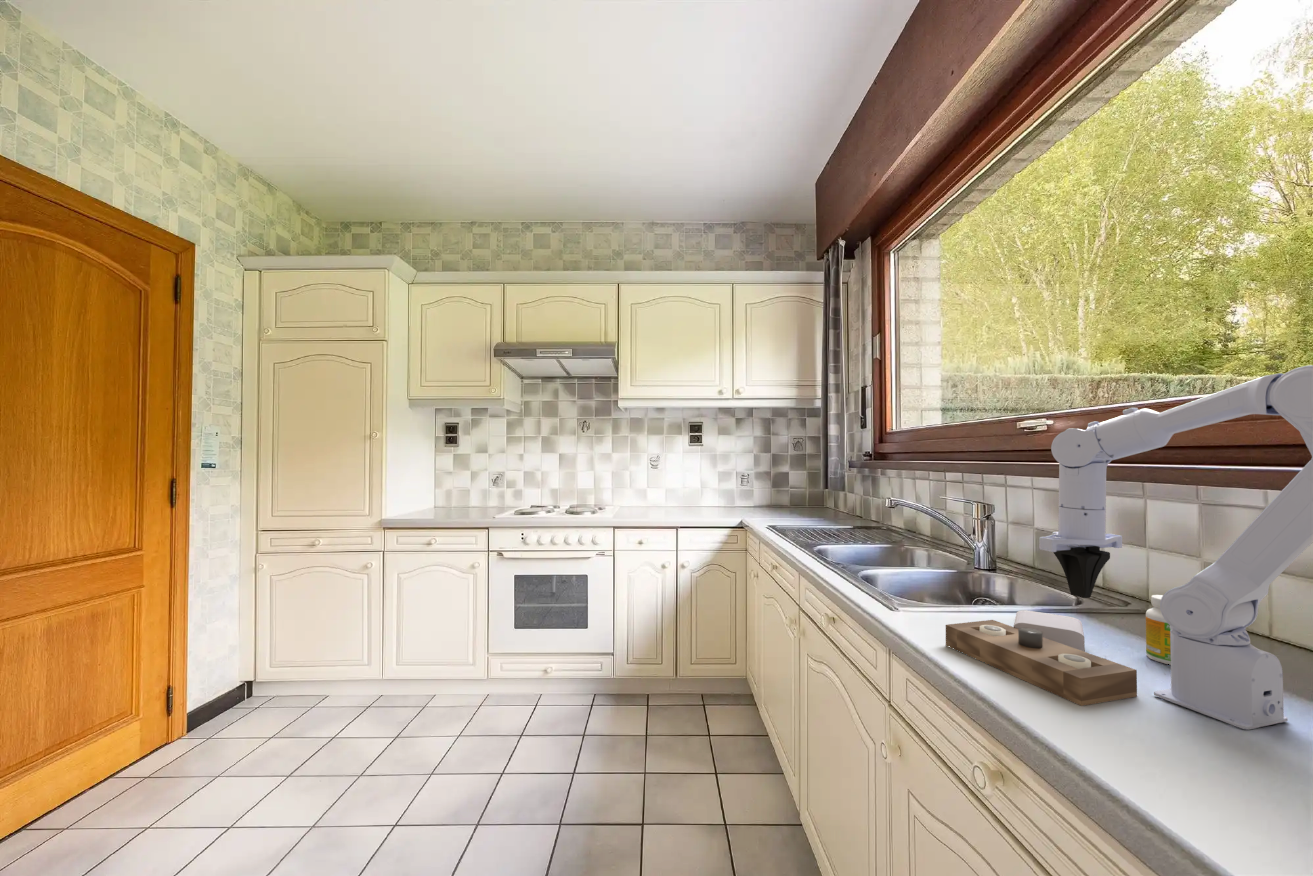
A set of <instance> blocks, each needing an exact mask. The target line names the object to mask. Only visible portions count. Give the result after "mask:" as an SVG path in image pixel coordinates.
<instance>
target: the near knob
mask: <svg viewBox="0 0 1313 876" xmlns="http://www.w3.org/2000/svg"><path fill="white" fill-rule="evenodd" d="M1058 661H1059V662H1062V663H1064V664H1067V665H1070V666H1072V667H1075V668H1077V669H1083V668H1090V667H1091V661H1090V660H1089V659H1087V658H1085V657H1082V656H1078V655H1073V654H1059V655H1058Z"/></svg>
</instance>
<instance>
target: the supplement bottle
mask: <svg viewBox="0 0 1313 876" xmlns="http://www.w3.org/2000/svg"><path fill="white" fill-rule="evenodd" d="M1163 595H1164V594H1152V595H1151V596H1150V597H1151V599H1150V603H1151V606H1152V608H1148V609H1147V610H1146V612H1145V651H1146V652H1145V653H1146V656H1147V658H1149V659H1151V660H1153V661H1156V662H1158V663H1161V664H1166V665H1168V664H1169V666H1171V640H1170V630H1171V629H1170V625H1169V624H1168V623H1167V622H1166V620H1165V619H1164V617H1163V615H1162V613H1161V610H1160V601H1161V598H1162V596H1163Z"/></svg>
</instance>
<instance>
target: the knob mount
mask: <svg viewBox="0 0 1313 876" xmlns="http://www.w3.org/2000/svg"><path fill="white" fill-rule="evenodd" d="M981 625H993V626H998V627H1001V628H1003V629H1005V630H1006V635H1003V636H995V637H994V636H991V635H988V634H986V633H983V632H980V626H981ZM946 645H947V646H950V647H951V648H950V647H949V648H950V649H952V648H954V649H955V650H954V649H953V650H954V651H956V650H958V651H957V652H959V651H960V652H959V653H961V652H963V653H964V654H963V653H962V654H963V655H965V654H967V655H966V656H967V657H970V656H971V657H970V658H972V657H973V659H974V658H976V659H975V660H977V661H979V660H980V661H979V662H981V661H982V662H981V663H983V662H985V663H984V664H985V665H988V664H989V665H988V666H991V667H992V666H993V668H995V669H997V668H998V669H997V670H999V669H1000V671H1001V670H1002V672H1004V673H1006V674H1008V673H1009V674H1008V675H1011V676H1013V677H1015V678H1016V679H1017V678H1018V679H1020V680H1022V681H1024V682H1027V683H1029V684H1031V685H1033V686H1036V687H1038V688H1040V689H1043V690H1044V691H1047V692H1049V693H1052V694H1054V695H1056V696H1058V697H1060V698H1063V699H1065V700H1067V701H1069V702H1072V703H1074V704H1076V705H1078V706H1081V707H1085V706H1089V705H1095V704H1101V703H1107V702H1112V701H1119V700H1125V699H1130V698H1135V697H1138V674H1137V673H1138V672H1137V671H1138V670H1137V669H1135V668H1132V667H1130V666H1127V665H1124V664H1121V663H1118V662H1115V661H1113V660H1109V659H1107V658H1103V657H1101V656H1097V655H1095V654H1092V653H1089V652H1086V651H1085V652H1084V651H1081V650H1078V649H1075V648H1072V647H1069V646H1066V645H1064V644H1061V643H1058V642H1055V641H1052V640H1049V639H1046V638H1044V637H1043V647H1042V648H1029V647H1025V646H1022V645H1020V644H1019V643H1018V628H1015V627H1014V626H1011V625H1009V624H1006V623H1003V622H1000V621H997V620H994V619H987V620H977V621H970V622H969V621H968V622H959V623H951V624H950V623H948V624H945V646H946ZM947 646H946V647H947ZM1059 654H1073V655H1078V656H1082V657H1085V658H1087V659H1089V660H1090V661H1091V667H1090V668H1083V669H1077V668H1075V667H1072V666H1070V665H1067V664H1064V663H1062V662H1059V661H1058V655H1059Z"/></svg>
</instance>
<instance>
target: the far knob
mask: <svg viewBox="0 0 1313 876" xmlns="http://www.w3.org/2000/svg"><path fill="white" fill-rule="evenodd" d="M980 632H983V633H986V634H988V635H991V636H994V637H995V636H1003V635H1006V630H1005V629H1003V628H1001V627H998V626H993V625H981V626H980Z"/></svg>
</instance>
